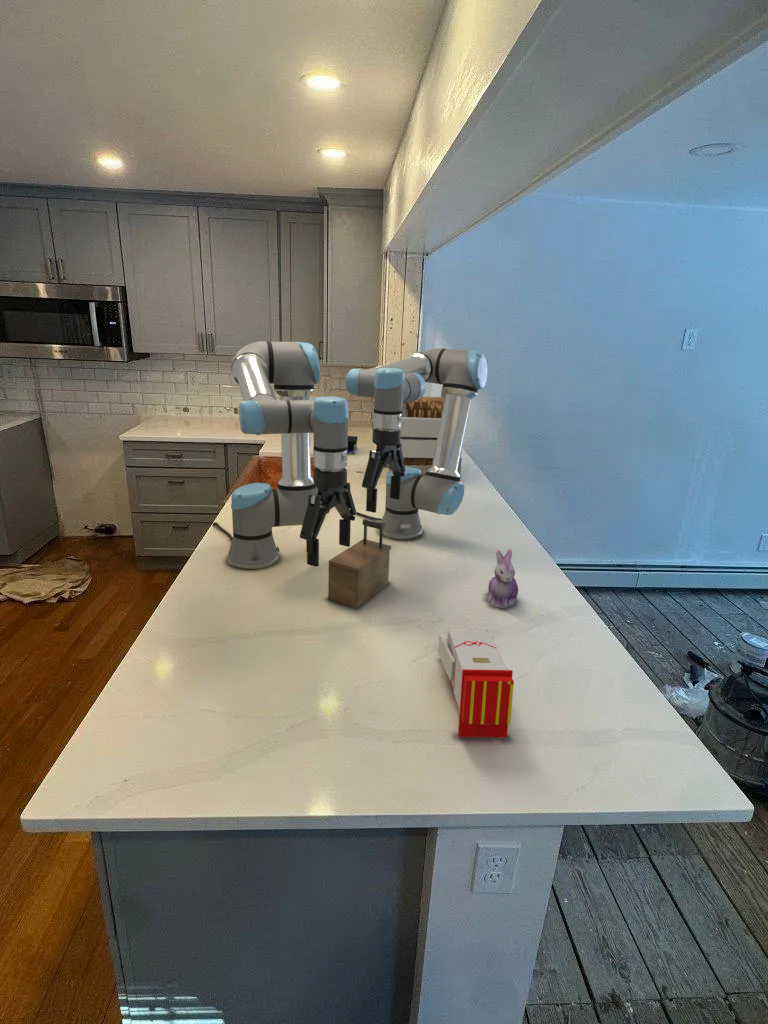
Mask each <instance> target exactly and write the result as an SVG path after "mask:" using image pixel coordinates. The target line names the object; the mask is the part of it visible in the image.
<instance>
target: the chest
mask: <svg viewBox="0 0 768 1024" xmlns="http://www.w3.org/2000/svg"><path fill="white" fill-rule="evenodd" d="M390 554H391V550H390V551H388V552H387V553H385V554H384V555H382V556H381V557H380V558H378V559H377V560H375V561H374V562H373V563H371V564H370V565H368V566H367V567H366V568H364V569H363V570H361V571H360V572H359V573H357V572H354V571H350V570H347V569H343V568H340V567H336V566H333V565H329V564H328V584H327V585H328V586H327V587H328V591H327V595H328V596H327V600H330V601H333V602H336V603H339V604H342V605H346V606H348V607H352V608H355V609H358V608H360V607H361V606H362V605H363V604H364V603H366V602H367V601H368V600H370V599H371V598H372V597H373V596H374V595H376V594H377V593H378V592H379V591H381V590H382V589H383V588H384V587H386V586H387V585H388V584H389V574H390V556H391V555H390Z"/></svg>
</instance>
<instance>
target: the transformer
mask: <svg viewBox="0 0 768 1024" xmlns="http://www.w3.org/2000/svg"><path fill="white" fill-rule="evenodd" d="M442 388H443V386H442V387H441V392H440V393H441V394H440V396H422V397H421V398H420V399H417V400H415V401H413V402H406V403H403V405H402V419H403V420H402V422H401V428H400V429H399V430H400V431H401V442H400V443H401V444H402V455H403V460H404V465H405V466H406V467H409V466H411V467H417V466H418V467H431V466H432V464H433V458H434V453H435V448H436V443H437V438H438V432H439V427H440V422H441V417H442V412H443V406H444V401H445V396H446V395H445V393H444V391H443V390H442ZM462 453H463V449H462V450H461V455H460V460H459V465H458V470H457V471H458V473H459V475H460V476H461V472H462V461H463V460H462ZM386 467H388V468H389V472H390V471H391V469H390V466H389V464H386ZM400 468H401V467H400Z"/></svg>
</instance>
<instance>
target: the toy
mask: <svg viewBox="0 0 768 1024" xmlns="http://www.w3.org/2000/svg"><path fill="white" fill-rule="evenodd" d="M446 640H447V643H446V641H445V639H444V636H443V635H442V634H439V637H438V646H437V656H438V657H439V659H440V661H441V663H442V666H443V668H444V670H445V672H446V674H447V677H448V679H449V681H450V684H451V687H452V690H453V693H454V697H455V701H456V705H457V708H458V711H459V714H458V715H459V716H458V730H457V731H458V732H457V737H458V738H508V731H509V726H510V725H511V717H512V707H513V697H514V696H513V695H514V684H515V680H514V679H513V673H514V671H513V670H512V669H508V667H507V665H506V662H505V661H504V659H503V658H502V655H501V653H500V651H499V649H498V647H497V643H496V639H495V637H494V635H493V634H491V632H490V631H489V629H467V628H466V629H465V628H463V629H461V628H460V629H459V628H448V630H447V639H446Z"/></svg>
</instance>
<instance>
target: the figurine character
mask: <svg viewBox="0 0 768 1024" xmlns="http://www.w3.org/2000/svg"><path fill="white" fill-rule="evenodd" d="M358 437H359V436H357V435H355V436H354V435H348V443H347V455H349V454H350V453H352V455H354V454H355V452H356V451H357V450H358V447H357V446H358V445H357V444H358Z"/></svg>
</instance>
